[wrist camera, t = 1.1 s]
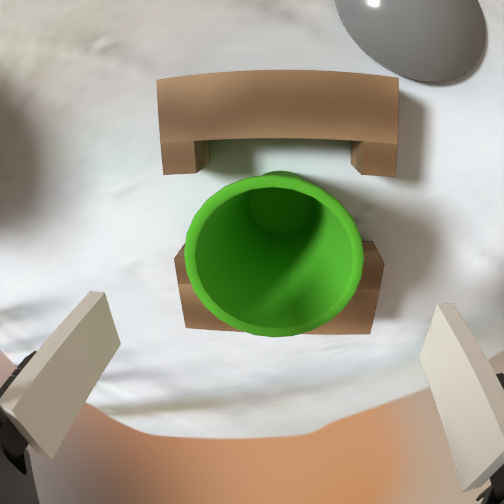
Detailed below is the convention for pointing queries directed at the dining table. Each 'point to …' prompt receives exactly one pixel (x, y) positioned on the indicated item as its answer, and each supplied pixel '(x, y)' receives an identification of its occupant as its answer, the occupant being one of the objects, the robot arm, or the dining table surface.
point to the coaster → (417, 35)
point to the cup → (274, 255)
